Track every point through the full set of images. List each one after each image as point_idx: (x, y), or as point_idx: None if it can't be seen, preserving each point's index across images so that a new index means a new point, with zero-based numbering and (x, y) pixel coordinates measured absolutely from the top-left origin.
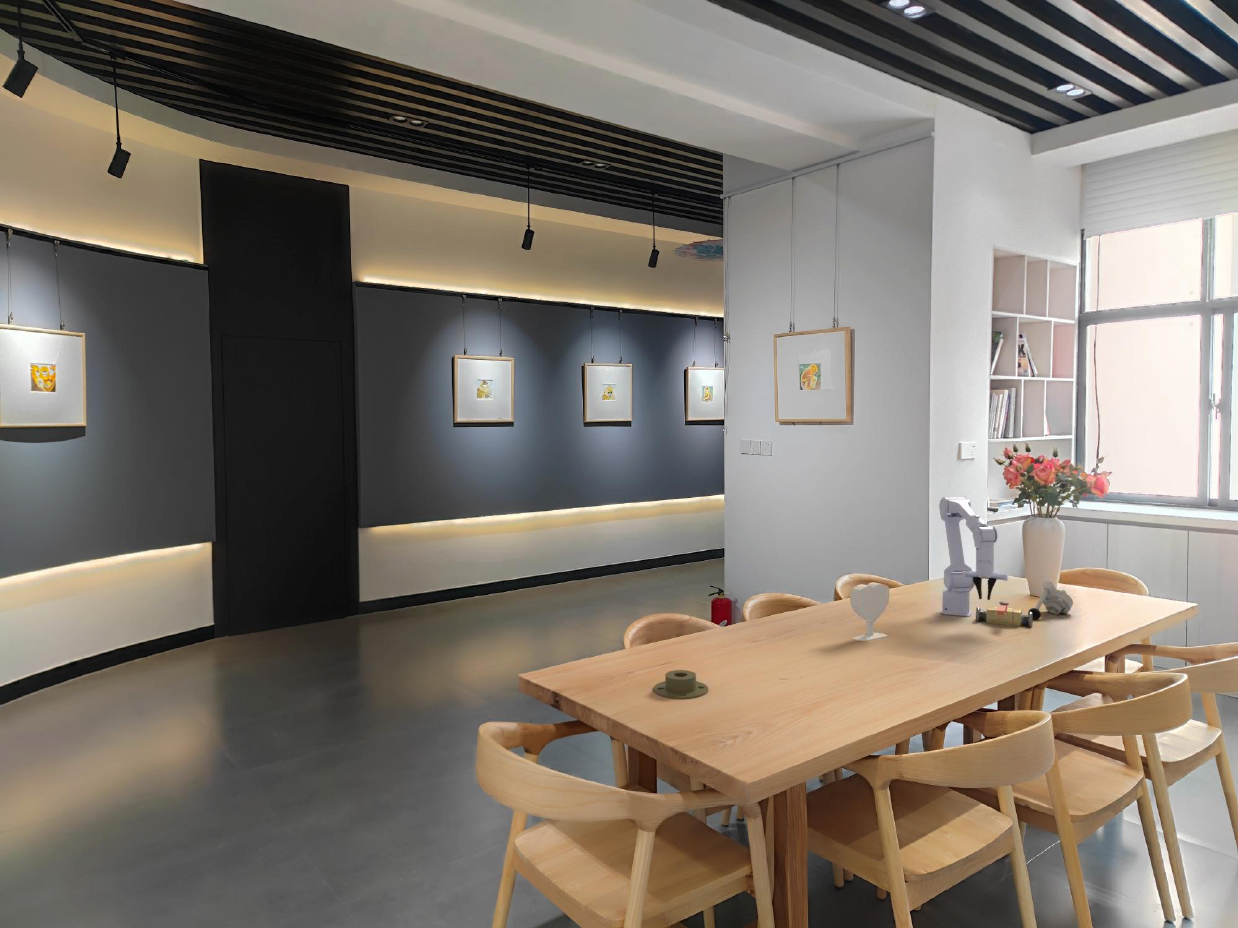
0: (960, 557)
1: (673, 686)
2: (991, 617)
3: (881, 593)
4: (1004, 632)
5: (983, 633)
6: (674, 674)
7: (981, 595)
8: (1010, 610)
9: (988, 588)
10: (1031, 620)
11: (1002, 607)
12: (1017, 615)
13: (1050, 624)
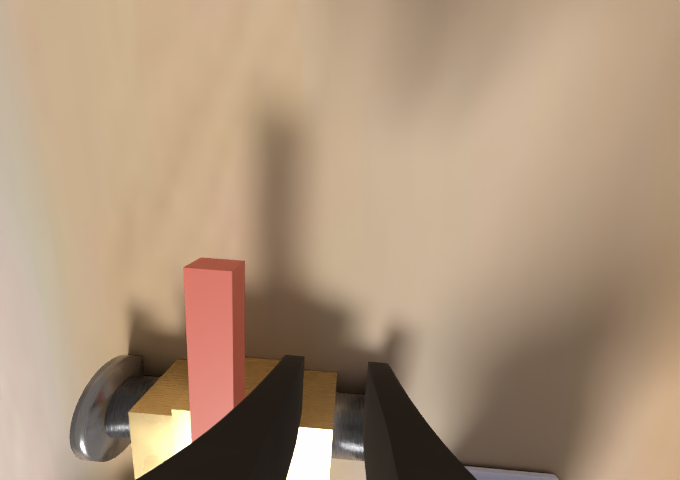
0: None
1: None
2: (309, 391)
3: None
4: (236, 190)
5: (343, 117)
6: None
7: (367, 417)
8: (188, 439)
9: (248, 451)
10: (98, 371)
11: (212, 390)
12: (159, 398)
13: (63, 435)
